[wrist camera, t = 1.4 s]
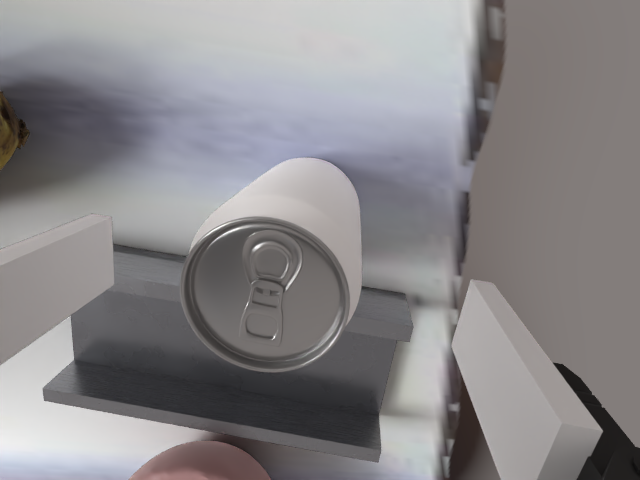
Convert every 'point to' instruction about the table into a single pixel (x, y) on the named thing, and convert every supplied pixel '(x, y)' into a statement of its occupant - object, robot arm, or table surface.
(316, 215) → the can
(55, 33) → the table surface
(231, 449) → the mortar and pestle
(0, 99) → the potato
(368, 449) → the track
